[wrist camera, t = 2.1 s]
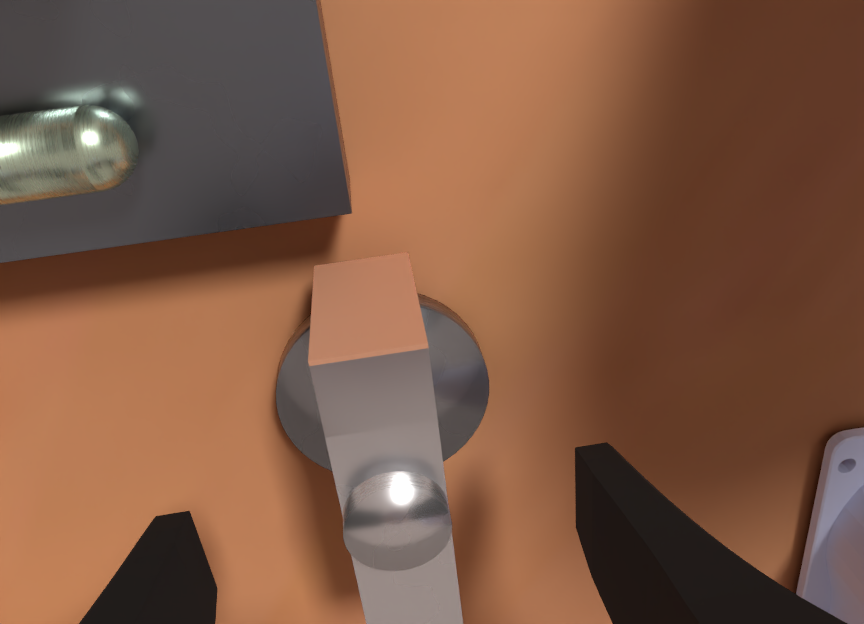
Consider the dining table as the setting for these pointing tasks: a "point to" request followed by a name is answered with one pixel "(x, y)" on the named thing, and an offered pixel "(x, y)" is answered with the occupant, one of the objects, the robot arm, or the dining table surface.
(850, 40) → the dining table surface
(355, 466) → the wing knob
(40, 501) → the dining table surface
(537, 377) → the dining table surface
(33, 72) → the levelling base
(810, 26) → the dining table surface
